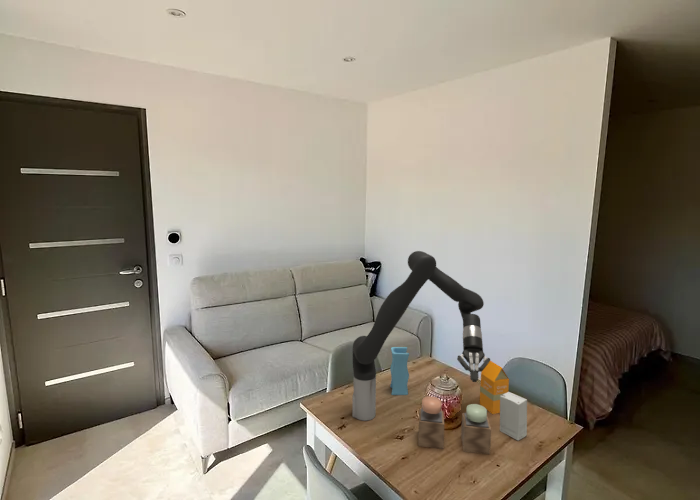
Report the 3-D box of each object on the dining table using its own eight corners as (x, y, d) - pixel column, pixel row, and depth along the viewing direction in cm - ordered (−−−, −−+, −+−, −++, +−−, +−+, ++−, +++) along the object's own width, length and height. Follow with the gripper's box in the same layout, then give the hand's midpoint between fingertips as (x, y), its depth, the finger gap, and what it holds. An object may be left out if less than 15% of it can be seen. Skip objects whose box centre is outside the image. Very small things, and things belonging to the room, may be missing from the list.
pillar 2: (463, 451, 137) (464, 425, 136) (461, 436, 146) (462, 411, 145) (489, 454, 135) (491, 428, 134) (485, 438, 144) (487, 414, 143)
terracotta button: (421, 412, 139) (422, 405, 139) (422, 402, 146) (422, 395, 146) (441, 414, 138) (441, 407, 138) (440, 404, 145) (441, 397, 144)
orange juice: (493, 401, 171) (496, 358, 169) (507, 411, 163) (510, 366, 160) (479, 403, 169) (481, 360, 166) (492, 414, 160) (494, 369, 158)
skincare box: (526, 436, 146) (529, 399, 144) (517, 441, 142) (519, 404, 140) (507, 425, 153) (509, 390, 151) (497, 430, 149) (499, 394, 147)
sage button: (467, 421, 136) (467, 413, 136) (465, 410, 143) (465, 403, 143) (488, 423, 135) (488, 415, 135) (484, 412, 142) (485, 405, 142)
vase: (408, 395, 176) (409, 353, 174) (391, 395, 176) (392, 353, 174) (406, 386, 184) (407, 347, 182) (390, 386, 184) (390, 347, 182)
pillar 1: (418, 445, 140) (418, 420, 139) (418, 431, 149) (419, 407, 148) (443, 448, 138) (444, 423, 137) (442, 434, 147) (443, 409, 146)
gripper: (456, 333, 154) (457, 376, 144) (490, 336, 152) (494, 379, 142) (455, 341, 160) (456, 383, 150) (488, 344, 158) (491, 386, 147)
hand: (474, 381), depth 146 cm, fingers closed
